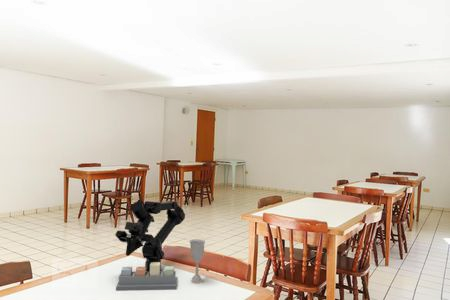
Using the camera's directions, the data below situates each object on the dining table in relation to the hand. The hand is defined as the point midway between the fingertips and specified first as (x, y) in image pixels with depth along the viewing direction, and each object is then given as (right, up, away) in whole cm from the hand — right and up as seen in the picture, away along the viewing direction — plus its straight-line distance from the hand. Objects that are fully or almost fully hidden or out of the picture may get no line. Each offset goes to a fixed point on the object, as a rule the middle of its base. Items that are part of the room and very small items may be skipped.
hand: (126, 255), depth 159 cm
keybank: (+9, -13, +1) cm, 16 cm away
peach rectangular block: (+6, -11, +1) cm, 13 cm away
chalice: (+30, -14, +7) cm, 33 cm away
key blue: (0, -11, 0) cm, 11 cm away
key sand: (+12, -9, +1) cm, 15 cm away
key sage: (+18, -11, +2) cm, 21 cm away
